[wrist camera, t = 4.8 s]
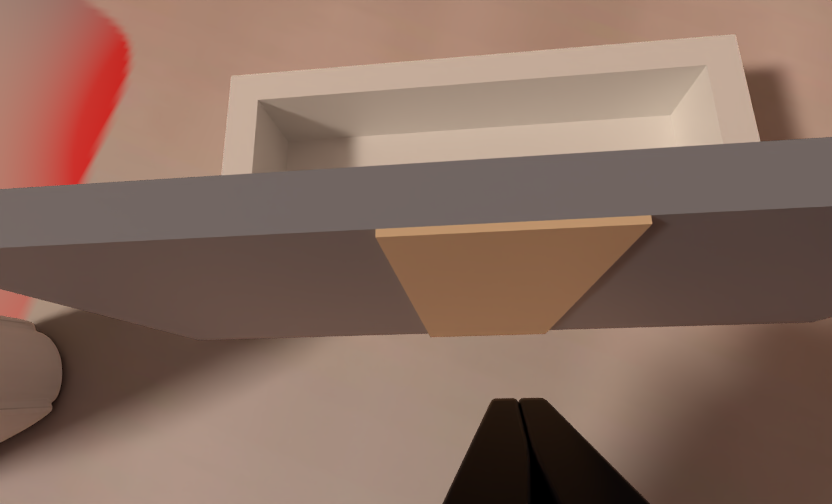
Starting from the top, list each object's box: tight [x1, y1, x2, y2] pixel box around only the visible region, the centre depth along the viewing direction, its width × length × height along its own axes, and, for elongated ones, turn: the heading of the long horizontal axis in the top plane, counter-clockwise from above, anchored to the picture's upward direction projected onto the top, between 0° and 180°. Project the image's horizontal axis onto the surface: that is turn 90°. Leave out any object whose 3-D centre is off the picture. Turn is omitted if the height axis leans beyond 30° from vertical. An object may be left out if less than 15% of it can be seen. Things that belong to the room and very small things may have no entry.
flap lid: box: [0, 137, 832, 340], centre depth 9 cm, size 8×16×1 cm
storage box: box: [221, 34, 760, 175], centre depth 16 cm, size 8×16×4 cm, turn 91°
